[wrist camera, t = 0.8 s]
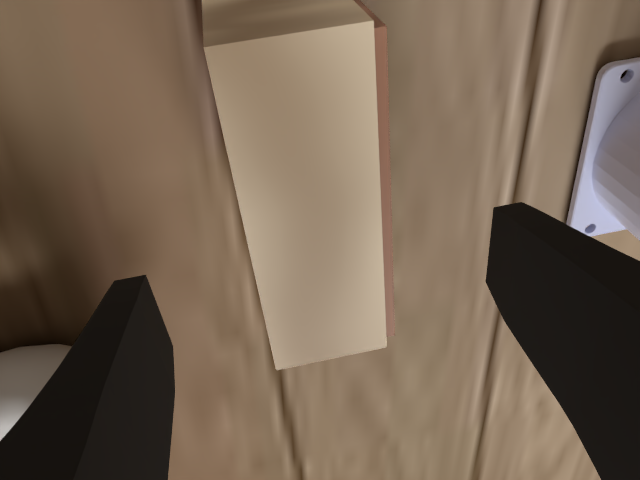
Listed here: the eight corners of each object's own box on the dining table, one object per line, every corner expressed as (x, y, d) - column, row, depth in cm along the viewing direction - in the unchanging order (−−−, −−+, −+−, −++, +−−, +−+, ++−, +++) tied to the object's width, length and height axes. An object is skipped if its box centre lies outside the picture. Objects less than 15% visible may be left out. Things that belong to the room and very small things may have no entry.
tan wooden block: (315, -49, 17) (389, 18, 10) (338, 199, 22) (397, 344, 16) (200, -33, 16) (203, 47, 10) (252, 216, 22) (276, 370, 15)
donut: (140, 304, 23) (111, 545, 15) (162, 359, 25) (146, 597, 17) (-109, 351, 22) (-277, 634, 14) (-66, 404, 24) (-192, 677, 16)
